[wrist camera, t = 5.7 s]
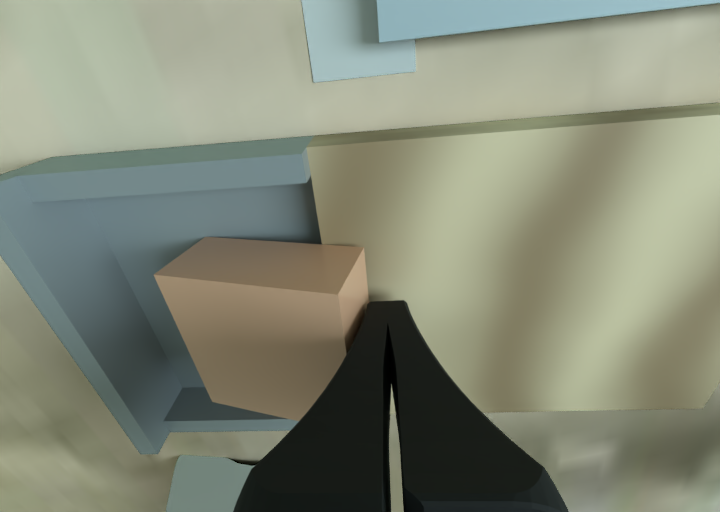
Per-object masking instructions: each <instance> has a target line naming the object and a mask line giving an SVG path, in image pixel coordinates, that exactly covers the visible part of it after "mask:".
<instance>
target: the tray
mask: <svg viewBox="0 0 720 512" xmlns="http://www.w3.org/2000/svg"><path fill="white" fill-rule="evenodd" d="M313 137H314V136H305V137H293V138H281V139H269V140H256V141H244V142H232V143H219V144H207V145H195V146H183V147H170V148H158V149H146V150H134V151H121V152H109V153H97V154H84V155H72V156H60V157H51V158H48V159H45V160H42V161H39V162H36V163H33V164H30V165H28V166H25V167H22V168H19V169H16V170H13V171H10V172H7V173H4V174H1V175H0V255H1V257H2V258H3V260H4V261H5V263H6V264H7V265H8V267H9V268H10V270H11V271H12V273H13V274H14V275H15V277H16V278H17V280H18V281H19V282H20V284H21V285H22V287H23V288H24V290H25V291H26V292H27V294H28V295H29V297H30V298H31V300H32V301H33V302H34V304H35V305H36V307H37V308H38V309H39V311H40V312H41V314H42V315H43V317H44V318H45V319H46V321H47V322H48V324H49V325H50V327H51V328H52V329H53V331H54V332H55V334H56V335H57V336H58V338H59V339H60V341H61V342H62V344H63V345H64V346H65V348H66V349H67V351H68V352H69V354H70V355H71V356H72V358H73V359H74V361H75V362H76V363H77V365H78V366H79V368H80V369H81V371H82V372H83V373H84V375H85V376H86V378H87V379H88V380H89V382H90V383H91V385H92V386H93V388H94V389H95V390H96V392H97V393H98V395H99V396H100V398H101V399H102V400H103V402H104V403H105V405H106V406H107V407H108V409H109V410H110V412H111V413H112V415H113V416H114V417H115V419H116V420H117V422H118V423H119V425H120V426H121V427H122V429H123V430H124V432H125V433H126V434H127V436H128V437H129V439H130V440H131V442H132V443H133V444H134V446H135V447H136V449H137V450H138V452H139V453H140V454H158V453H159V451H160V449H161V448H162V446H163V444H164V442H165V440H166V438H167V436H168V434H169V433H170V432H218V431H283V430H292V428H293V427H294V426H295V425H296V424H297V423H298V422H299V421H295V420H291V419H286V418H282V417H277V416H273V415H268V414H264V413H259V412H255V411H251V410H246V409H242V408H237V407H233V406H228V405H224V404H219V403H215V402H212V400H211V398H210V396H209V394H208V392H207V390H206V387H205V385H204V383H203V381H202V379H201V377H200V374H199V372H198V370H197V368H196V366H195V364H194V361H193V359H192V357H191V355H190V353H189V351H188V349H187V346H186V344H185V342H184V340H183V338H182V336H181V333H180V331H179V329H178V327H177V325H176V323H175V320H174V318H173V316H172V314H171V312H170V310H169V307H168V305H167V303H166V301H165V299H164V297H163V294H162V292H161V290H160V288H159V286H158V284H157V281H156V279H155V277H154V274H155V273H156V272H158V271H159V270H161V269H162V268H163V267H165V266H166V265H167V264H169V263H170V262H172V261H173V260H174V259H176V258H177V257H178V256H180V255H181V254H182V253H184V252H185V251H187V250H188V249H189V248H191V247H192V246H193V245H195V244H196V243H198V242H199V241H200V240H202V239H203V238H204V237H217V238H232V239H247V240H262V241H277V242H292V243H307V244H322V242H321V235H320V229H319V223H318V217H317V211H316V204H315V198H314V192H313V186H312V180H311V173H310V167H309V161H308V155H307V148H306V147H307V146H308V144H309V143H310V141H311V140H312V138H313Z"/></svg>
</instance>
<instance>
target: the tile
mask: <svg viewBox="0 0 720 512" xmlns="http://www.w3.org/2000/svg"><path fill="white" fill-rule="evenodd" d="M154 277H155V279H156V281H157V284H158V286H159V288H160V290H161V292H162V294H163V297H164V299H165V301H166V303H167V305H168V307H169V310H170V312H171V314H172V316H173V318H174V320H175V323H176V325H177V327H178V329H179V331H180V333H181V336H182V338H183V340H184V342H185V344H186V346H187V349H188V351H189V353H190V355H191V357H192V359H193V361H194V364H195V366H196V368H197V370H198V372H199V374H200V377H201V379H202V381H203V383H204V385H205V387H206V390H207V392H208V394H209V396H210V398H211V400H212V402H215V403H219V404H224V405H228V406H233V407H237V408H242V409H246V410H251V411H255V412H259V413H264V414H268V415H273V416H277V417H282V418H286V419H291V420H295V421H300V420H301V418H302V417H303V416H304V415H305V414H306V413H307V412H308V410H309V409H310V408H311V407H312V405H313V404H314V403H315V402H316V400H317V399H318V398H319V396H320V395H321V394H322V392H323V391H324V390H325V388H326V387H327V385H328V384H329V382H330V381H331V379H332V378H333V376H334V375H335V373H336V372H337V370H338V369H339V367H340V365H341V364H342V362H343V360H344V358H345V356H346V355H347V353H348V351H349V349H350V347H351V345H352V343H353V341H354V339H355V337H356V335H357V333H358V331H359V328H360V326H361V323H362V321H363V318H364V315H365V312H366V309H367V304H368V303H369V296H368V286H367V275H366V264H365V253H364V247H353V246H338V245H323V244H307V243H292V242H277V241H262V240H247V239H232V238H217V237H204V238H203V239H202V240H200V241H199V242H198V243H196V244H195V245H193V246H192V247H191V248H189V249H188V250H187V251H185V252H184V253H182V254H181V255H180V256H178V257H177V258H176V259H174V260H173V261H172V262H170V263H169V264H167V265H166V266H165V267H163V268H162V269H161V270H159V271H158V272H156V273H155V274H154Z"/></svg>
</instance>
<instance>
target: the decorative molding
mask: <svg viewBox="0 0 720 512" xmlns="http://www.w3.org/2000/svg"><path fill="white" fill-rule="evenodd" d="M254 466H255V465H253V466H250V465H244V464H239V463H236V462H234V461H232V460H230V459H228V458H224V457H207V456H191V455H180V457H179V458H178V460H177V463H176V465H175V469H174V474H173V479H172V484H171V489H170V493H169V498H168V503H167V508H166V512H233V511H234V507H235V505H236V502H237V499H238V497H239V495H240V492H241V490H242V488H243V485H244V483H245V481H246V479H247V477H248V475H249V473H250V471H251V469H252V468H253V467H254Z"/></svg>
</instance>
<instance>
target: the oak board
mask: <svg viewBox="0 0 720 512" xmlns="http://www.w3.org/2000/svg"><path fill="white" fill-rule="evenodd" d="M306 148H307V155H308V161H309V167H310V173H311V180H312V186H313V192H314V198H315V204H316V211H317V217H318V223H319V229H320V235H321V242H322V244H323V245H338V246H353V247H364V253H365V264H366V275H367V286H368V296H369V302H372V301H395V300H404V301H406V302H407V304H408V307H409V310H410V313H411V315H412V317H413V319H414V321H415V323H416V325H417V327H418V329H419V331H420V333H421V335H422V336H423V338H424V340H425V341H426V343H427V345H428V346H429V348H430V349H431V351H432V352H433V354H434V355H435V357H436V358H437V360H438V361H439V363H440V364H441V365H442V367H443V368H444V370H445V371H446V372H447V373H448V375H449V376H450V377H451V379H452V380H453V381H454V382H455V383H456V385H457V386H458V387H459V388H460V389H461V390H462V392H463V393H464V394H465V395H466V396H467V397H468V398H469V400H470V401H471V402H472V403H473V404H474V405H475V406H476V407H477V408H478V409H479V410H480V411H481V412H482V413H490V412H544V411H598V410H651V409H703V408H704V406H705V404H706V403H707V401H708V400H709V398H710V397H711V395H712V394H713V392H714V390H715V389H716V387H717V386H718V384H719V383H720V103H711V104H698V105H686V106H674V107H661V108H649V109H637V110H625V111H612V112H600V113H588V114H575V115H563V116H551V117H539V118H526V119H514V120H502V121H490V122H477V123H465V124H453V125H440V126H428V127H416V128H404V129H391V130H379V131H367V132H354V133H342V134H330V135H318V136H314V137H313V138H312V140H311V141H310V143H309V144H308V146H307V147H306ZM390 414H396V412H395V405H394V398H393V391H392V384H391V404H390Z"/></svg>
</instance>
